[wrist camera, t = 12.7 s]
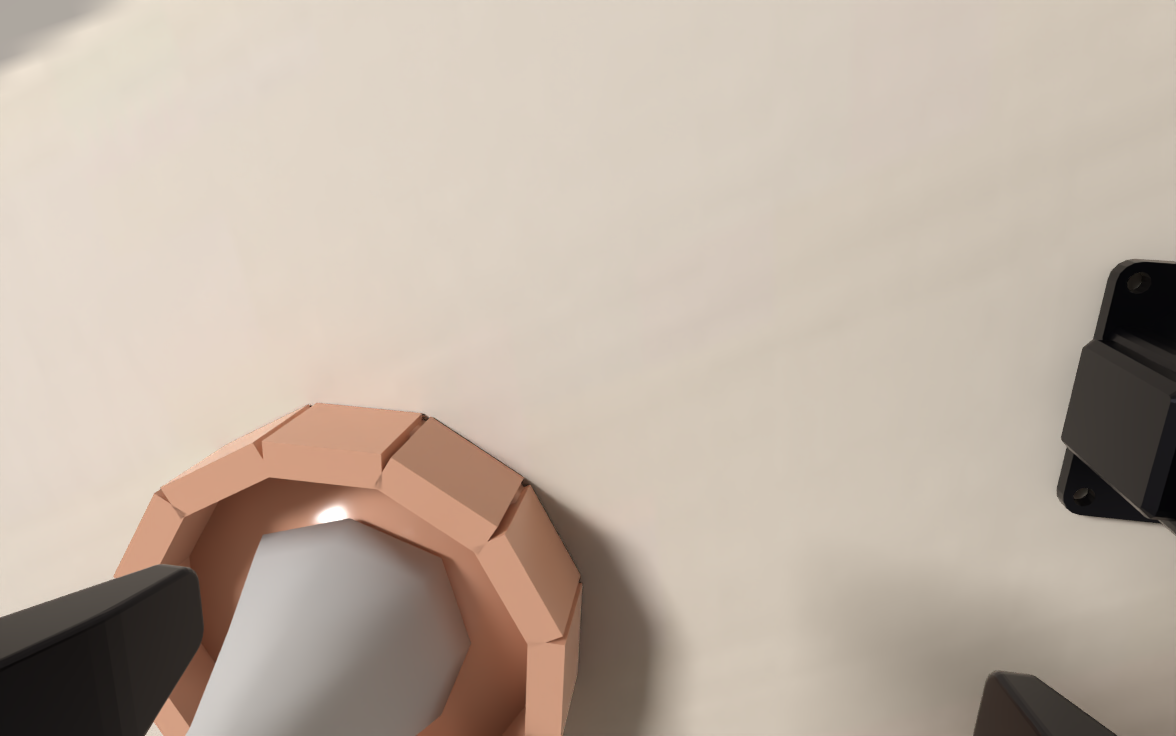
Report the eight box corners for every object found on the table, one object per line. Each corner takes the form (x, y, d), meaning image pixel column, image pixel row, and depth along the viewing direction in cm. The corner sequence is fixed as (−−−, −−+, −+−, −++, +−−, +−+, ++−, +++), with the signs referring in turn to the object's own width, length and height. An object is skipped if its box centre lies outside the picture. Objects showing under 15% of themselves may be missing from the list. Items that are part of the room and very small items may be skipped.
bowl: (590, 430, 22) (572, 474, 19) (571, 799, 26) (554, 881, 23) (162, 387, 24) (88, 422, 21) (203, 740, 28) (145, 810, 25)
